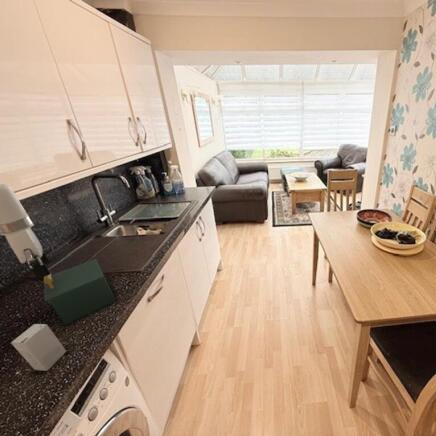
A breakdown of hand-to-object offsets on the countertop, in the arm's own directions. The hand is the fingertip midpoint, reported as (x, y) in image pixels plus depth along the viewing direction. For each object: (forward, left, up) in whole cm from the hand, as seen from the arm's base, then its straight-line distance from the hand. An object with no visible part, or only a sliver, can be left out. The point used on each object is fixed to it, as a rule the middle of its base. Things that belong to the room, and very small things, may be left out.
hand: (44, 270), depth 80 cm
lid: (+5, +1, -7) cm, 9 cm away
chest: (+5, +1, -18) cm, 19 cm away
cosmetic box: (0, -24, -18) cm, 30 cm away
